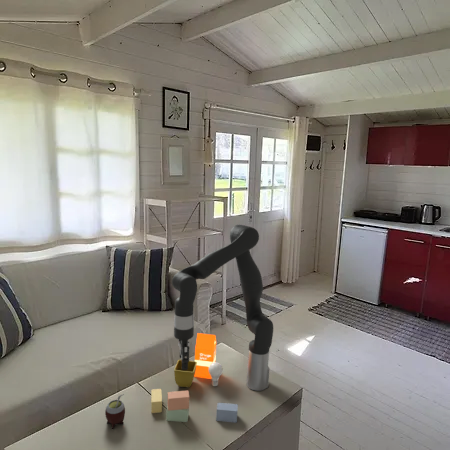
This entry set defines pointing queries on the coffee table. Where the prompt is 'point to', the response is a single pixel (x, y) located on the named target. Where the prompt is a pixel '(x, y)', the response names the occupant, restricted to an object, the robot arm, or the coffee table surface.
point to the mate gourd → (115, 412)
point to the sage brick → (178, 415)
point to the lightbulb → (215, 372)
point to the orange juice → (204, 354)
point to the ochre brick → (156, 401)
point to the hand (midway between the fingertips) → (183, 363)
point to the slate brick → (226, 412)
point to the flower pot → (184, 374)
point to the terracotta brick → (178, 400)
